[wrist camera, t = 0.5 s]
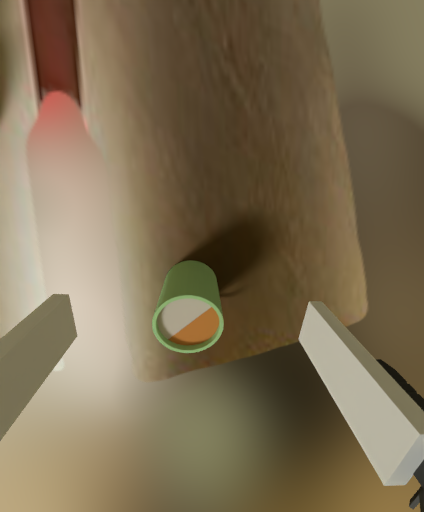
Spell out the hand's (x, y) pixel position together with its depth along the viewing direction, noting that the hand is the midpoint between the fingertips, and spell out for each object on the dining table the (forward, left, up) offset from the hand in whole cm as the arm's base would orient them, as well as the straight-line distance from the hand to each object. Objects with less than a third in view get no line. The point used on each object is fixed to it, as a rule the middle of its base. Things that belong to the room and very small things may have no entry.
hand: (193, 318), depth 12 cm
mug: (+14, 0, -27) cm, 30 cm away
